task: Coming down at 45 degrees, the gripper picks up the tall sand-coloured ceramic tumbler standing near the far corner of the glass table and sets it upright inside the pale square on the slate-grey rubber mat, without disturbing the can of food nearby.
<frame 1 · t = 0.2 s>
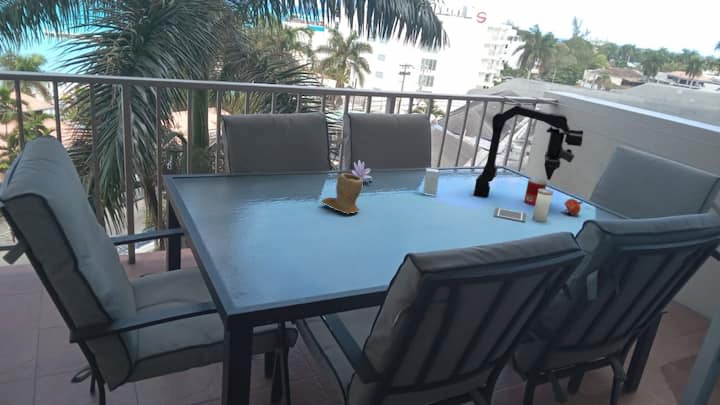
hand: (548, 177, 217), 14 cm above the table, tool pointing down, fingers open, 9 cm apart
pomegranate: (569, 214, 216), on the table
mat: (509, 215, 207), on the table
tumbler: (539, 219, 205), on the table
canned food: (532, 203, 227), on the table
skincare box: (429, 195, 225), on the table
water lily: (361, 183, 233), on the table
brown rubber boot: (342, 210, 196), on the table
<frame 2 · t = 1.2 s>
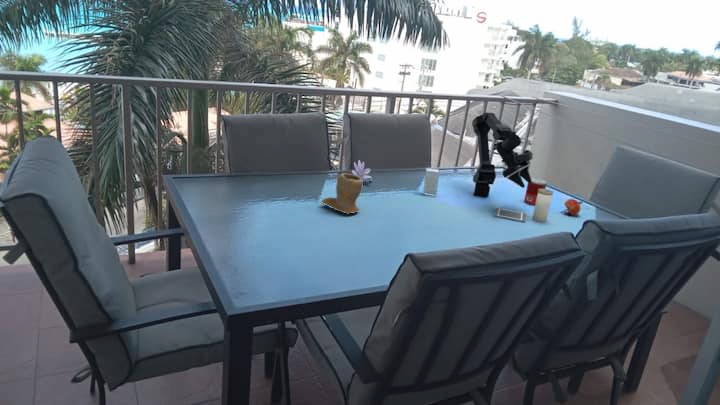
hand: (527, 185, 205), 13 cm above the table, tool tilted 45°, fingers open, 9 cm apart
nothing on the table moved.
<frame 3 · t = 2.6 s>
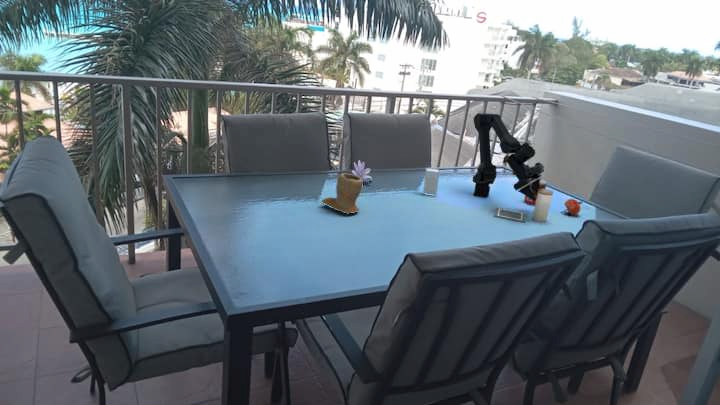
hand: (538, 198, 203), 9 cm above the table, tool tilted 45°, fingers open, 9 cm apart
nothing on the table moved.
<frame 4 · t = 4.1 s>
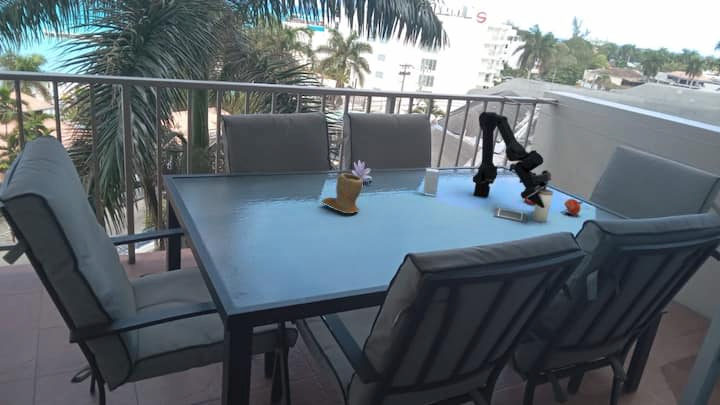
hand: (545, 206, 202), 7 cm above the table, tool tilted 45°, fingers closed on tumbler, 6 cm apart
tumbler: (539, 219, 205), on the table, touching gripper
everything else where it was.
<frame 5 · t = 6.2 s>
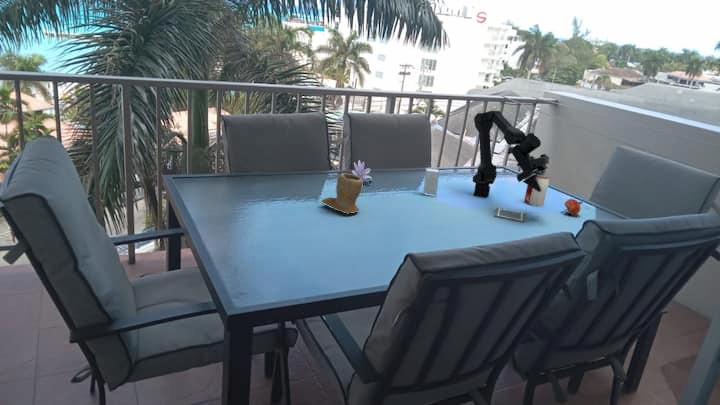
hand: (542, 190, 200), 13 cm above the table, tool tilted 45°, fingers closed on tumbler, 6 cm apart
tumbler: (536, 203, 203), point 7 cm above the table, touching gripper
everything else where it was.
when the fingers open (8 cm above the table, at t = 8.6 s): tumbler stays where it is, resting on mat.
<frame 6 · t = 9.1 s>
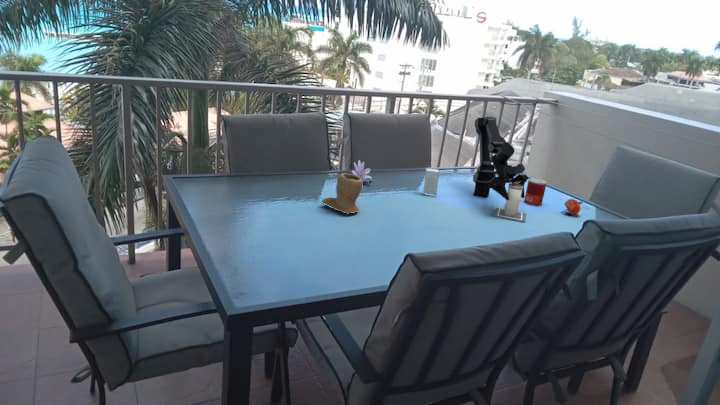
hand: (516, 198, 203), 8 cm above the table, tool tilted 45°, fingers open, 9 cm apart
tumbler: (510, 214, 207), point 1 cm above the table, touching mat
everything else where it was.
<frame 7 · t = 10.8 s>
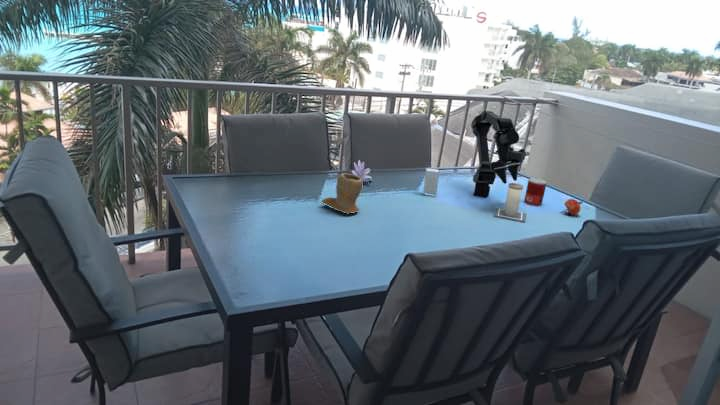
hand: (510, 182, 210), 13 cm above the table, tool tilted 25°, fingers open, 9 cm apart
nothing on the table moved.
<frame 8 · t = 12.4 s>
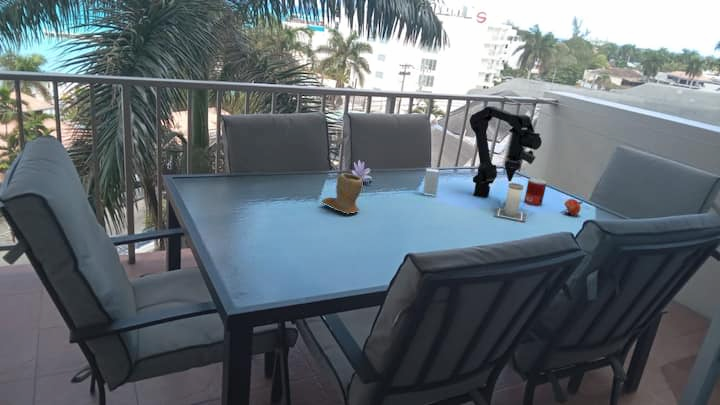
hand: (510, 178, 214), 13 cm above the table, tool pointing down, fingers open, 9 cm apart
nothing on the table moved.
at the end: tumbler inside the target area on the mat (0.1 cm from its centre), point 0.6 cm above the mat's base; tumbler tilted 0°; canned food moved 0.2 cm from its start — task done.
